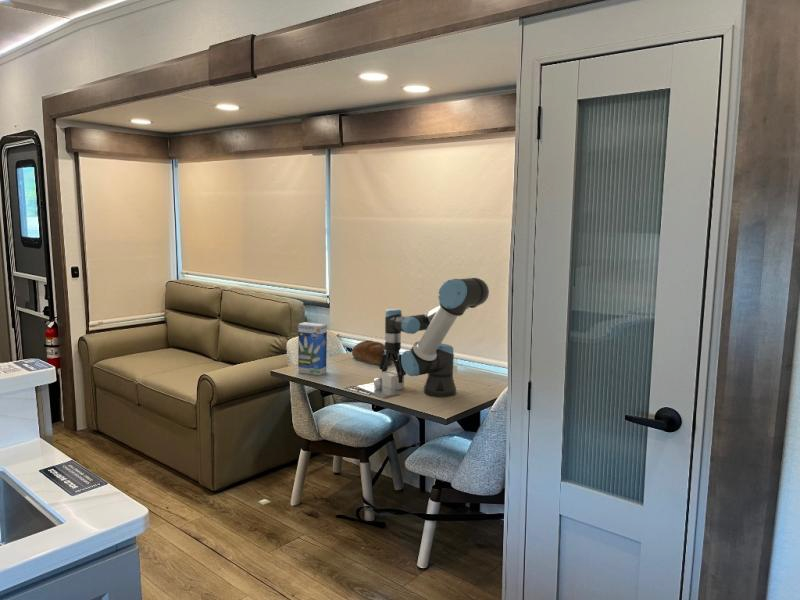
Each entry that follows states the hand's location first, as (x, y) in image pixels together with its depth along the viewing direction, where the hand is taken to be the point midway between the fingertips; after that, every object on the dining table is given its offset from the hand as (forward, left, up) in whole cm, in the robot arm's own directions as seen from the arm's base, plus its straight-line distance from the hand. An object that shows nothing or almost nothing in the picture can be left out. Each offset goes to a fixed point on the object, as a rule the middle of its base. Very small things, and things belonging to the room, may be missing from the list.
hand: (392, 386), depth 289 cm
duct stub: (-1, +10, 0) cm, 10 cm away
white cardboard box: (0, 0, 0) cm, 0 cm away
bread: (+48, -25, -1) cm, 54 cm away
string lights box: (+46, +16, 0) cm, 49 cm away
